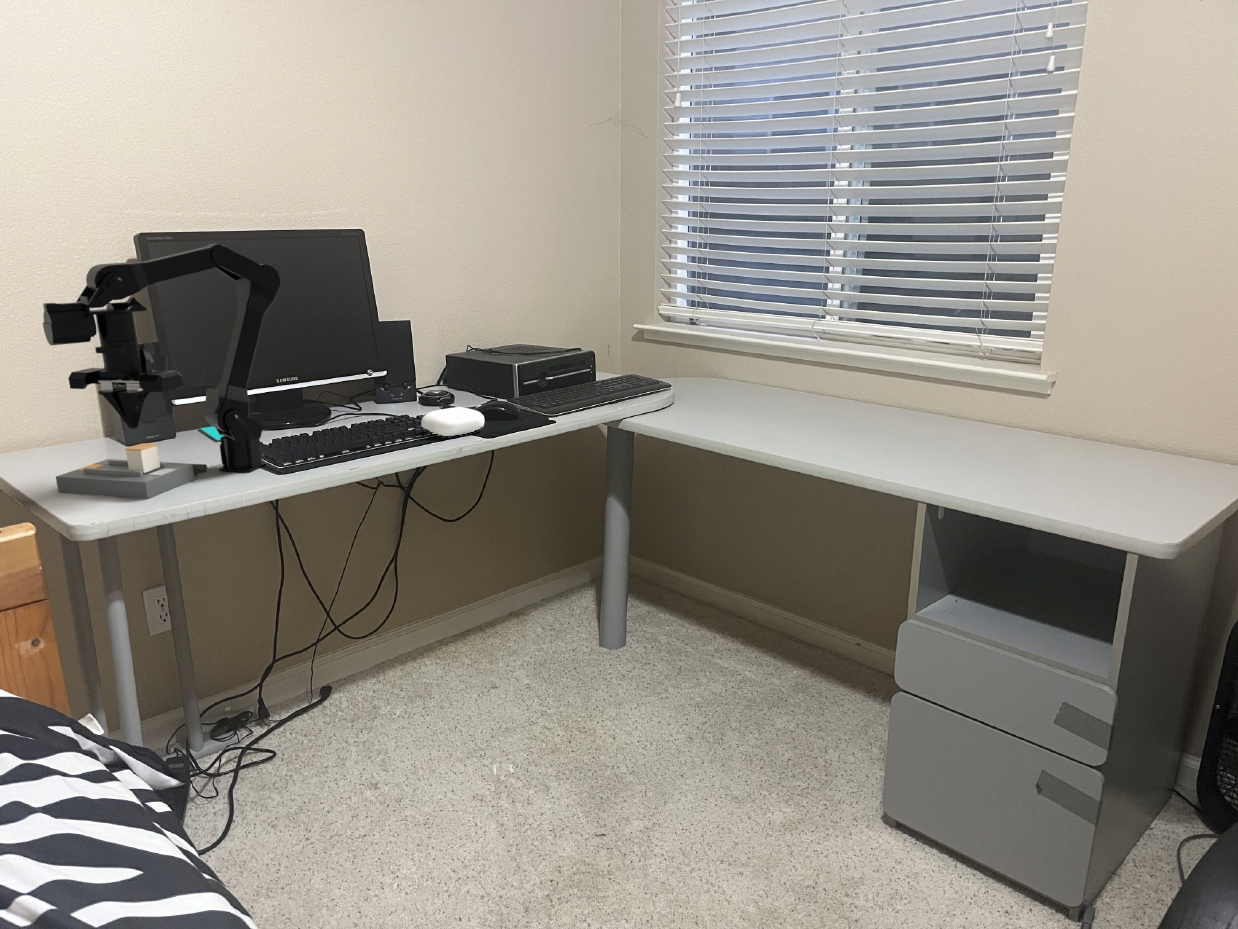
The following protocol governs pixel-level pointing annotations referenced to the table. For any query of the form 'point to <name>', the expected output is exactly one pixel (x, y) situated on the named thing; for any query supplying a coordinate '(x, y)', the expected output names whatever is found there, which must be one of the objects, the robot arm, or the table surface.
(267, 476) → the table surface
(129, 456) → the toggle
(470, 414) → the earbud case
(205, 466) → the grey thin rod
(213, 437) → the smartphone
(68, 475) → the grey tray
